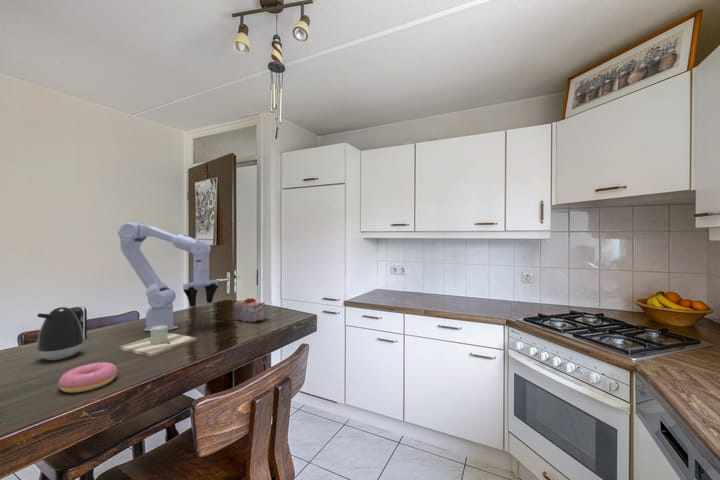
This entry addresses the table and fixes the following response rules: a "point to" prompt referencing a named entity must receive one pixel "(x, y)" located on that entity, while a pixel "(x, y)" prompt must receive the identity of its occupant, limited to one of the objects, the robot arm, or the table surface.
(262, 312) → the food item
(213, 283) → the robot arm
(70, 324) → the black kettle
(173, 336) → the post board
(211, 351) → the table surface
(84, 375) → the doughnut
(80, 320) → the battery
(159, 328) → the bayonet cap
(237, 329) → the table surface
